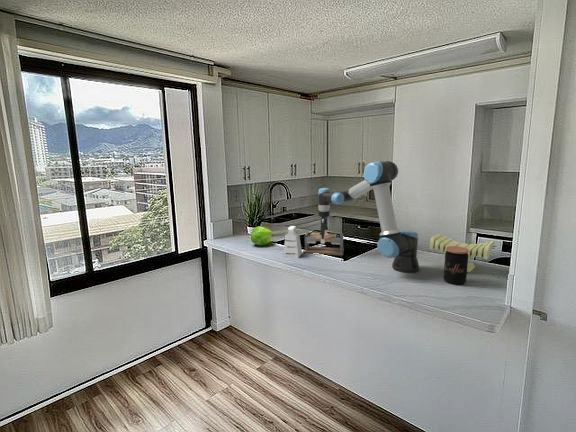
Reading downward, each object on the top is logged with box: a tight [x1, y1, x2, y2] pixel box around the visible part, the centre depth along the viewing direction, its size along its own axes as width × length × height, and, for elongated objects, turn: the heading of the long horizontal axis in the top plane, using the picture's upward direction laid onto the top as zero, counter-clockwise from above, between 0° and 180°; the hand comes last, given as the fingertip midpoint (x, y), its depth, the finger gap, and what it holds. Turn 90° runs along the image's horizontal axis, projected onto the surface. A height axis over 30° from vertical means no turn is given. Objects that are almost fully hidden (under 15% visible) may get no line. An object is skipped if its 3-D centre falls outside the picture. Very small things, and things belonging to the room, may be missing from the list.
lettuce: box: [250, 225, 273, 246], centre depth 248 cm, size 15×20×14 cm
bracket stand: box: [303, 231, 345, 256], centre depth 227 cm, size 13×27×13 cm, turn 76°
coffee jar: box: [443, 246, 469, 286], centre depth 169 cm, size 11×11×18 cm
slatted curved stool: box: [429, 231, 496, 273], centre depth 189 cm, size 30×16×18 cm, turn 47°
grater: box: [282, 225, 303, 259], centre depth 219 cm, size 10×10×20 cm
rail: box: [310, 232, 338, 243], centre depth 226 cm, size 4×18×5 cm, turn 71°
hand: (324, 241), depth 226 cm, fingers open, 11 cm apart
